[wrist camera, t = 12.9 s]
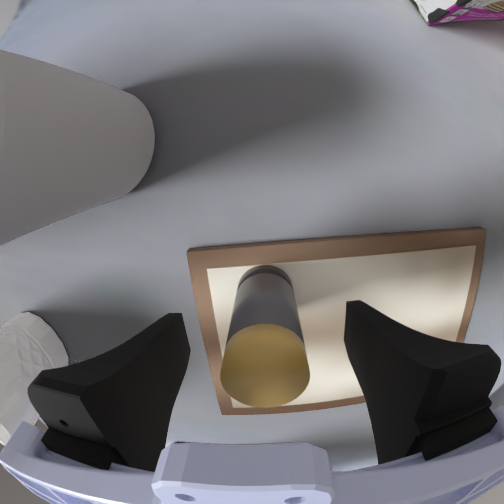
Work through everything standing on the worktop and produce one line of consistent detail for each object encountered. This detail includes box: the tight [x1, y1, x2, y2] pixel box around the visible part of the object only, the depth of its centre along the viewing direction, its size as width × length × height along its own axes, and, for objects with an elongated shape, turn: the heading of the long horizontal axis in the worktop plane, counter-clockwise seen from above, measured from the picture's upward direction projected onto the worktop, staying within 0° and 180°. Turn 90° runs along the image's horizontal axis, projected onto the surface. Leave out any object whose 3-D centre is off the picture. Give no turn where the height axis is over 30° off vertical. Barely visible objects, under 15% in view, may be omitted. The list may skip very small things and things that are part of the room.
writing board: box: [186, 227, 486, 415], centre depth 17 cm, size 13×19×1 cm
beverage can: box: [0, 50, 155, 245], centre depth 8 cm, size 6×6×12 cm
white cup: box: [0, 312, 69, 446], centre depth 14 cm, size 8×8×10 cm
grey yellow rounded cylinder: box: [220, 265, 310, 408], centre depth 12 cm, size 3×3×7 cm
